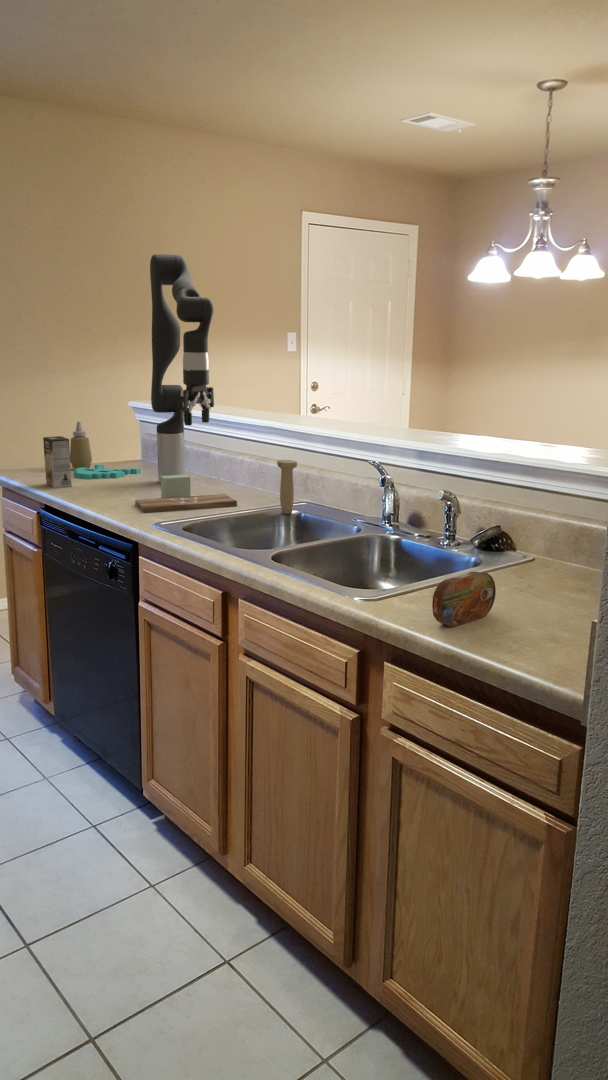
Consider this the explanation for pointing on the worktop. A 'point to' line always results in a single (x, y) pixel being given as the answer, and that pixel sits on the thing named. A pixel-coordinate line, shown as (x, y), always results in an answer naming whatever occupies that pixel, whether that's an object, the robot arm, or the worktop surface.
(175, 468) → the robot arm
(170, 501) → the walnut board
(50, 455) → the coffee box
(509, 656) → the worktop surface
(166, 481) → the block
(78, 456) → the squeeze bottle
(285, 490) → the handle
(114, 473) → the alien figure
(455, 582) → the tin
